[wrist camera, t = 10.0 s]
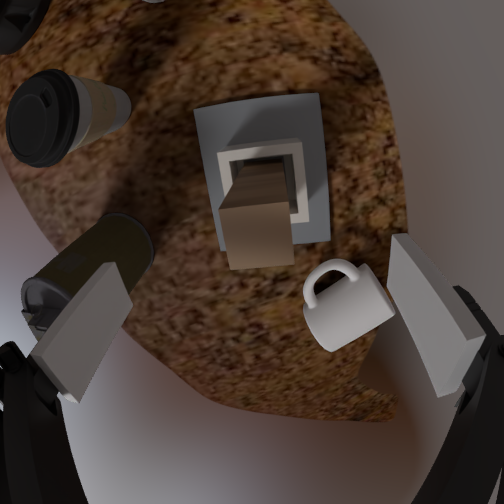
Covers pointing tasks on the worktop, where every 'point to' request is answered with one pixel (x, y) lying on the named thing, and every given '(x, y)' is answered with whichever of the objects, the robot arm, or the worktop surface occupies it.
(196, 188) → the worktop surface
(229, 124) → the mat
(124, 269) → the canister
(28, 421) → the robot arm
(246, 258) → the brown wooden block
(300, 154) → the white square holder
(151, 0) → the cup
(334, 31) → the worktop surface
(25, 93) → the coffee cup
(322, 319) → the mug
